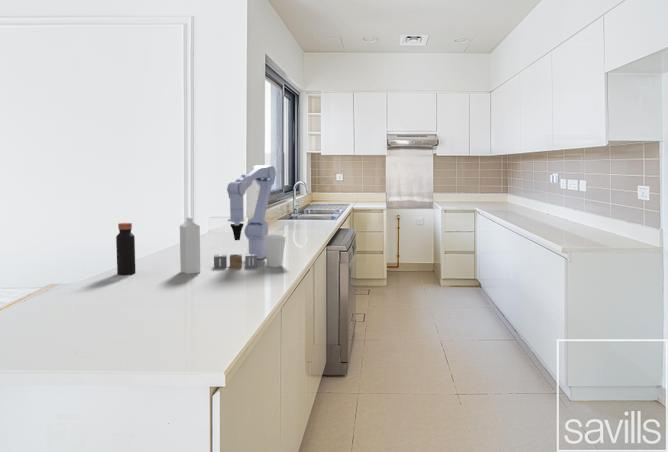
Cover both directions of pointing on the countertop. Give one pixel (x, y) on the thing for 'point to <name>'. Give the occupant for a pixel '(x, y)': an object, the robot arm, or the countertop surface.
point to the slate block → (250, 260)
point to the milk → (190, 247)
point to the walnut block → (236, 261)
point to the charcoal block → (220, 261)
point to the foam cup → (274, 249)
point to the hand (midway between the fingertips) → (237, 240)
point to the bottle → (125, 250)
